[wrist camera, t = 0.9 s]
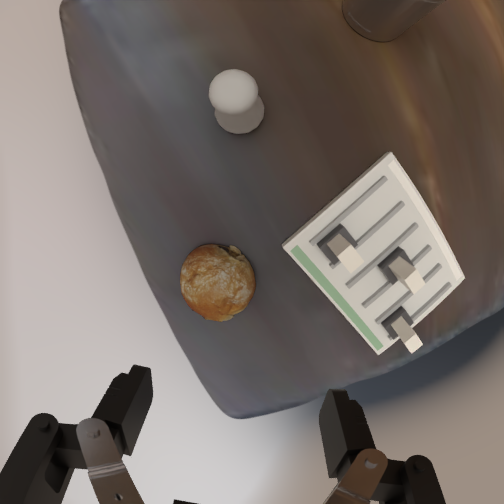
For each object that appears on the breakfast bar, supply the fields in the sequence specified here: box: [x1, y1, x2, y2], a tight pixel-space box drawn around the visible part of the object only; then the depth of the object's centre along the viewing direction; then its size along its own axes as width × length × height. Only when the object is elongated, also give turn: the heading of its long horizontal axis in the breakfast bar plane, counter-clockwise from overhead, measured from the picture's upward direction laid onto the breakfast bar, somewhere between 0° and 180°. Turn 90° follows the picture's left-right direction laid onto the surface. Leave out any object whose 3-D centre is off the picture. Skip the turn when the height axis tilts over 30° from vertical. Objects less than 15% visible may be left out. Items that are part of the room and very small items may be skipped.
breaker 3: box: [381, 306, 423, 354], centre depth 37 cm, size 4×3×7 cm
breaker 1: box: [317, 224, 364, 273], centre depth 34 cm, size 4×3×7 cm
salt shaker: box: [209, 69, 264, 134], centre depth 28 cm, size 6×6×13 cm
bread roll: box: [180, 244, 256, 322], centre depth 39 cm, size 10×10×8 cm
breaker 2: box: [377, 246, 425, 294], centre depth 35 cm, size 4×3×7 cm
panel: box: [282, 152, 465, 355], centre depth 39 cm, size 19×24×2 cm
